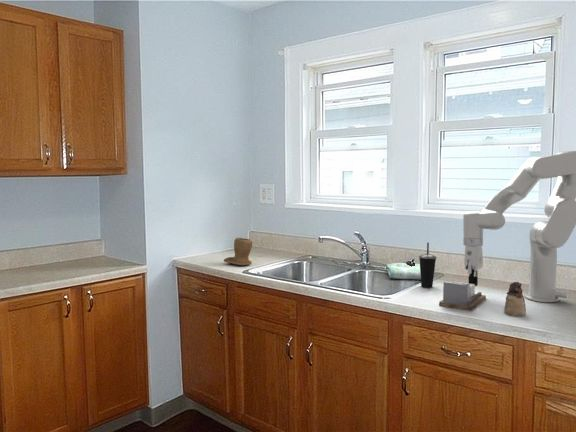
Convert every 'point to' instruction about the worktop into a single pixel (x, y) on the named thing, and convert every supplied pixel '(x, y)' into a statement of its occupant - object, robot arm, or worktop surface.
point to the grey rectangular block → (456, 293)
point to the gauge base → (473, 302)
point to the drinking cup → (427, 268)
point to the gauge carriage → (471, 289)
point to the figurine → (515, 301)
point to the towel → (404, 271)
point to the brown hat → (241, 252)
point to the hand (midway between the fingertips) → (473, 285)
